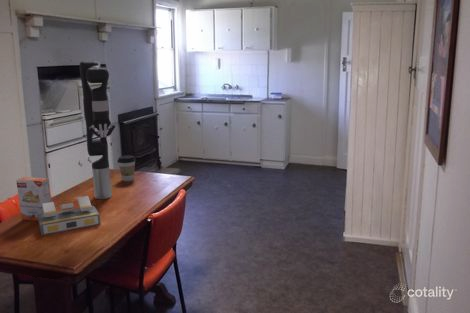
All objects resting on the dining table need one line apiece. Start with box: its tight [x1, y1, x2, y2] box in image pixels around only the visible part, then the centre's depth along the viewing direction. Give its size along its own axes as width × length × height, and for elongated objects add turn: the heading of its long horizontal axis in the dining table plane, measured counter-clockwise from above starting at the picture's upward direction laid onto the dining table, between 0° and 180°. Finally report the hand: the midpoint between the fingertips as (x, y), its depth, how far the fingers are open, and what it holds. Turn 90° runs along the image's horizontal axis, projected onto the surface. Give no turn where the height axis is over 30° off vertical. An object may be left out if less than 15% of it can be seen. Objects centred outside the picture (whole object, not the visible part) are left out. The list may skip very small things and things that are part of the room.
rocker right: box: [77, 195, 93, 212], centre depth 220 cm, size 9×5×2 cm, turn 28°
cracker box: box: [16, 176, 52, 222], centre depth 223 cm, size 14×6×21 cm, turn 78°
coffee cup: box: [117, 154, 137, 182], centre depth 288 cm, size 11×11×15 cm
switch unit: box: [38, 205, 101, 236], centre depth 216 cm, size 14×26×6 cm, turn 117°
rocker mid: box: [60, 202, 75, 211], centre depth 217 cm, size 9×5×2 cm, turn 27°
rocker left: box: [42, 201, 57, 218], centre depth 213 cm, size 9×5×2 cm, turn 28°
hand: (103, 144), depth 226 cm, fingers closed
